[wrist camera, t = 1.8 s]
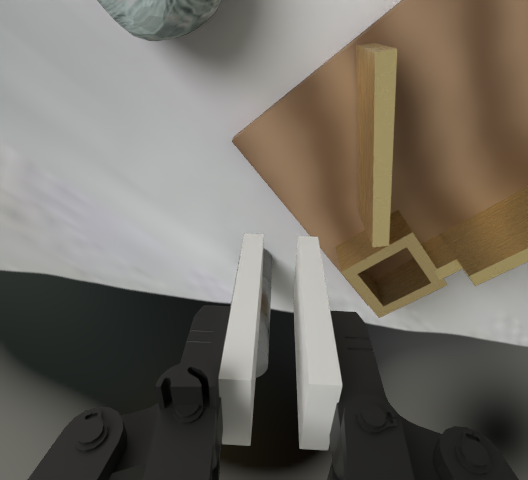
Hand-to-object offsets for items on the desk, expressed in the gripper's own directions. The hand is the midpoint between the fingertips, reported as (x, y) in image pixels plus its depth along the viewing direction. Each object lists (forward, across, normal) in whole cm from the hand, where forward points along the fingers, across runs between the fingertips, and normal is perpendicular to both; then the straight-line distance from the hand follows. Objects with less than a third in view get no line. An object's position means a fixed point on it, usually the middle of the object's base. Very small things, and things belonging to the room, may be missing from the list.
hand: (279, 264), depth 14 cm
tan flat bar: (+17, +7, +1) cm, 18 cm away
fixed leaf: (+17, +16, -6) cm, 24 cm away
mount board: (+18, +12, -1) cm, 22 cm away
